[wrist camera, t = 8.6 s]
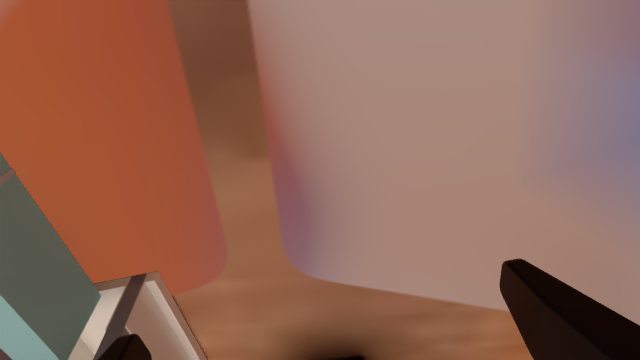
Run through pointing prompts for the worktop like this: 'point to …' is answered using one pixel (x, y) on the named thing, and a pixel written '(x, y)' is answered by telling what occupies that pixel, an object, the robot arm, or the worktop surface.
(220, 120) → the worktop surface
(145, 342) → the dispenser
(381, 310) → the worktop surface
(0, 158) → the teal square rod
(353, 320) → the worktop surface
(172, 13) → the worktop surface
